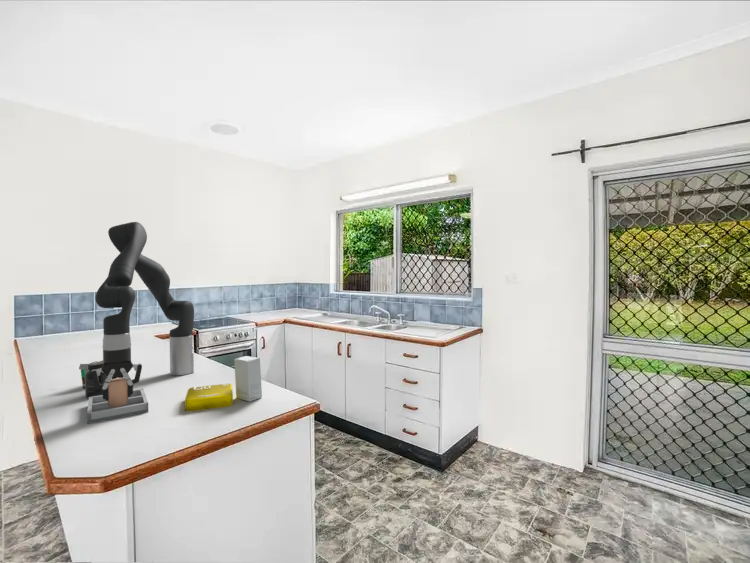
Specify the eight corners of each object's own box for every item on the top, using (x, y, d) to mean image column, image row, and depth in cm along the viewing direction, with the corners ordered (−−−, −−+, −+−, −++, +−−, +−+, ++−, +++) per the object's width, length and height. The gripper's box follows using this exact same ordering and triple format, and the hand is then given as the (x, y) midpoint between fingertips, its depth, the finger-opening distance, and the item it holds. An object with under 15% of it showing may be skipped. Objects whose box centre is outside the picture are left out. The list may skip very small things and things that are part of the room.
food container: (92, 390, 145) (91, 365, 145) (79, 389, 146) (78, 364, 146) (119, 381, 157) (119, 357, 157) (107, 380, 158) (107, 357, 158)
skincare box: (262, 397, 136) (261, 357, 136) (248, 402, 131) (247, 361, 131) (248, 393, 141) (247, 354, 141) (234, 397, 136) (233, 357, 136)
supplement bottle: (112, 393, 141) (111, 362, 141) (93, 399, 135) (92, 366, 134) (99, 391, 143) (99, 360, 143) (80, 397, 137) (79, 365, 137)
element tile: (184, 413, 122) (184, 399, 122) (188, 399, 136) (188, 386, 136) (232, 407, 128) (232, 393, 128) (232, 394, 142) (232, 381, 142)
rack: (143, 396, 138) (143, 388, 138) (148, 411, 122) (148, 402, 122) (89, 405, 128) (88, 397, 128) (87, 423, 113) (87, 414, 113)
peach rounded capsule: (127, 399, 125) (127, 376, 125) (128, 404, 121) (128, 380, 121) (107, 403, 122) (107, 379, 122) (108, 408, 118) (107, 383, 118)
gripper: (141, 342, 128) (142, 391, 129) (89, 347, 120) (90, 399, 120) (143, 346, 122) (144, 396, 123) (89, 351, 114) (90, 406, 114)
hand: (118, 397), depth 122 cm, fingers closed on peach rounded capsule, 5 cm apart
